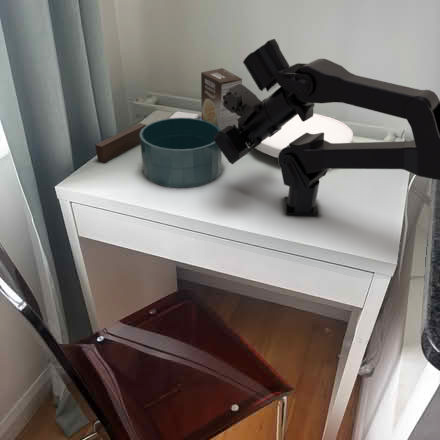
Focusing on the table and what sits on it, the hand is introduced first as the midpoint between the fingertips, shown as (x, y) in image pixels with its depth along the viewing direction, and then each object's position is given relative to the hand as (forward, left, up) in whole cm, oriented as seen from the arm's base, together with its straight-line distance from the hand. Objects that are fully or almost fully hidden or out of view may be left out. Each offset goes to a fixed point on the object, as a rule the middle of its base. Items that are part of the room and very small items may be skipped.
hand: (224, 153), depth 97 cm
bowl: (+6, +10, -7) cm, 13 cm away
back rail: (+15, +25, -7) cm, 30 cm away
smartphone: (+32, +14, -7) cm, 36 cm away
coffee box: (+22, +2, -7) cm, 23 cm away
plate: (+20, -18, -7) cm, 28 cm away
